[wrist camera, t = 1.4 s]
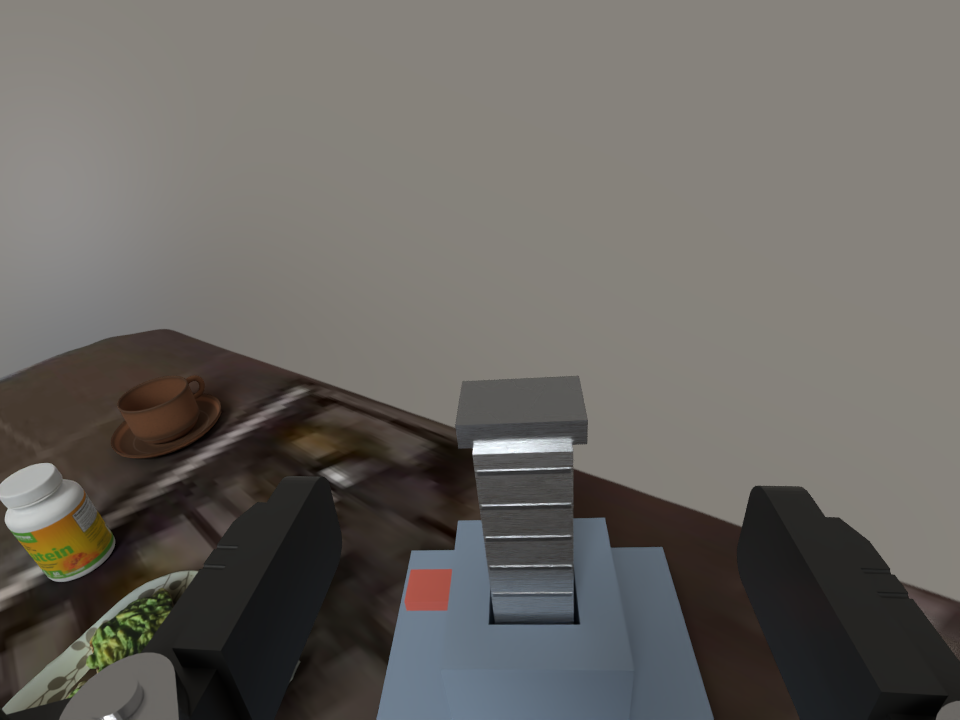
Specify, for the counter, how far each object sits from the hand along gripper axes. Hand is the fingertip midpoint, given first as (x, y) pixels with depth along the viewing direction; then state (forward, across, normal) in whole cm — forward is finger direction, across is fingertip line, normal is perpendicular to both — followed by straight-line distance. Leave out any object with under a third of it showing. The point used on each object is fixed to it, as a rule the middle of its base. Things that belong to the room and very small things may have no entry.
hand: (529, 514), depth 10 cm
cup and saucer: (+40, +44, +27) cm, 66 cm away
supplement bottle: (+22, +41, +28) cm, 54 cm away
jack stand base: (+12, 0, +27) cm, 30 cm away
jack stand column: (+12, 0, +25) cm, 28 cm away
